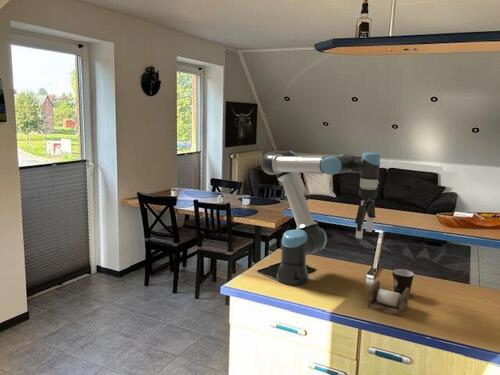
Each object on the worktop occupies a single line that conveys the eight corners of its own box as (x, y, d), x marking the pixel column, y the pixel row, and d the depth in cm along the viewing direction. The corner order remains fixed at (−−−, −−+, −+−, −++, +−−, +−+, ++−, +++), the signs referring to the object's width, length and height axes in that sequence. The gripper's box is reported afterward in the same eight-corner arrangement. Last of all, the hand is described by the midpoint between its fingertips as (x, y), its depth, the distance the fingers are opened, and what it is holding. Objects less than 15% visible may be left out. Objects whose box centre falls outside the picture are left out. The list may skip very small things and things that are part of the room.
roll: (376, 303, 174) (378, 288, 174) (379, 302, 179) (382, 288, 179) (395, 308, 169) (398, 293, 170) (399, 307, 174) (401, 292, 175)
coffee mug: (413, 298, 184) (415, 277, 182) (392, 296, 186) (394, 275, 184) (408, 288, 195) (411, 268, 194) (389, 286, 197) (391, 266, 195)
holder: (366, 307, 174) (368, 289, 173) (374, 297, 184) (376, 280, 183) (401, 317, 166) (403, 298, 165) (408, 306, 176) (410, 288, 175)
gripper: (367, 193, 172) (363, 242, 175) (385, 185, 192) (380, 230, 196) (350, 190, 176) (345, 239, 179) (368, 183, 196) (364, 227, 200)
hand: (363, 234), depth 188 cm, fingers open, 13 cm apart
